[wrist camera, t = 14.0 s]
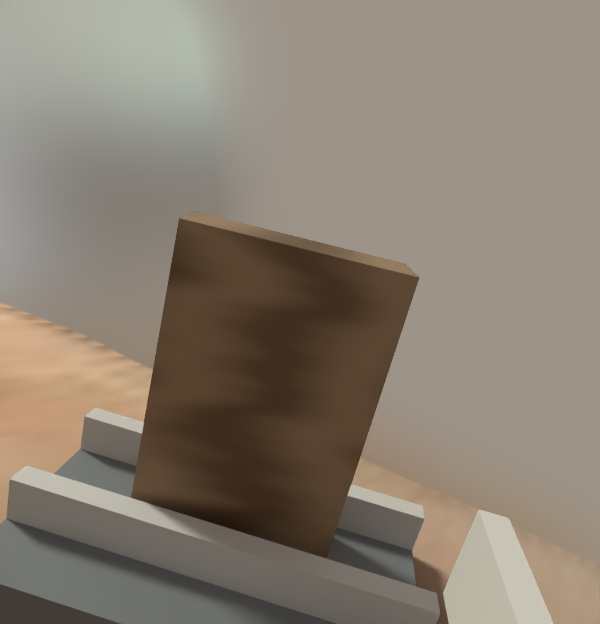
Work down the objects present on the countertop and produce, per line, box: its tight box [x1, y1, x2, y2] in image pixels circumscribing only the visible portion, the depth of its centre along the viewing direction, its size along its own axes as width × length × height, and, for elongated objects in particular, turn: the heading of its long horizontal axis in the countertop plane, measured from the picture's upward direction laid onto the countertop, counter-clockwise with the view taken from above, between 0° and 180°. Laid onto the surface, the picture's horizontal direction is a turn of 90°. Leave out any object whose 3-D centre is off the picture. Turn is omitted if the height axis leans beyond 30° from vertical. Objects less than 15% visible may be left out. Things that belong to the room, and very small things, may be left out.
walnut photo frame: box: [131, 211, 419, 559], centre depth 21 cm, size 9×3×14 cm, turn 90°
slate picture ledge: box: [0, 408, 440, 624], centre depth 23 cm, size 18×12×5 cm, turn 82°
